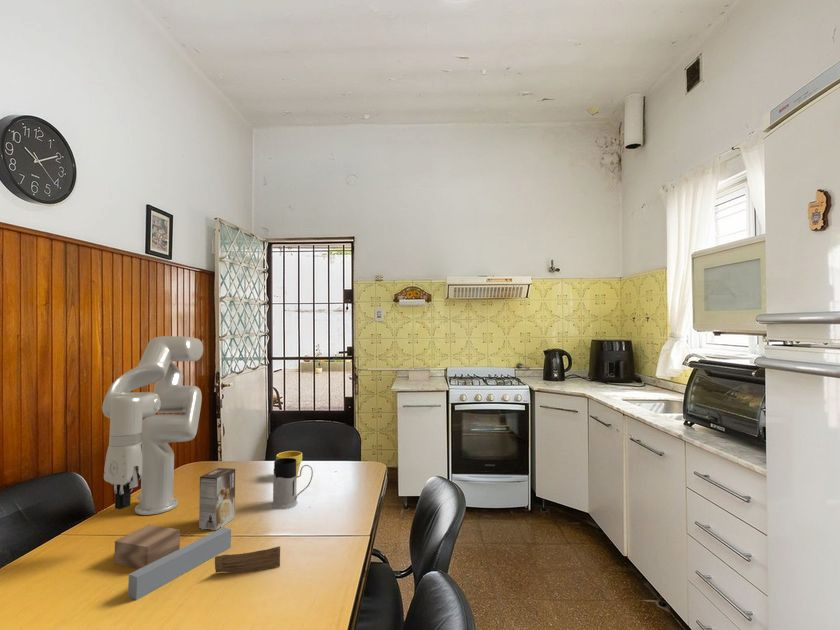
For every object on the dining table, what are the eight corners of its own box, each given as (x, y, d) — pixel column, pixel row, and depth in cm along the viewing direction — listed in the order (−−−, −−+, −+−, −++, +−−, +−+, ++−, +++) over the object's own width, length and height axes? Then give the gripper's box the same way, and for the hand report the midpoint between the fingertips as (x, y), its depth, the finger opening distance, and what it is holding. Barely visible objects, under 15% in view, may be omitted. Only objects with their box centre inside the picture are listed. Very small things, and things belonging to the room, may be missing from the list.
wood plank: (279, 563, 111) (280, 544, 111) (279, 568, 109) (280, 548, 109) (215, 573, 107) (216, 553, 107) (214, 578, 105) (214, 557, 105)
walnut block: (114, 564, 111) (114, 541, 111) (148, 546, 120) (149, 524, 121) (147, 571, 108) (147, 547, 108) (179, 551, 117) (180, 529, 118)
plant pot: (278, 474, 182) (279, 450, 182) (303, 473, 183) (304, 450, 183) (273, 482, 171) (273, 457, 172) (299, 481, 172) (299, 457, 173)
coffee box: (217, 516, 139) (219, 467, 140) (235, 518, 138) (236, 468, 139) (197, 529, 130) (199, 476, 131) (216, 531, 129) (217, 477, 130)
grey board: (128, 596, 97) (128, 574, 97) (223, 545, 121) (223, 527, 121) (136, 600, 96) (137, 577, 96) (230, 547, 119) (231, 529, 120)
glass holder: (276, 499, 154) (277, 457, 155) (315, 499, 154) (316, 457, 154) (267, 509, 146) (268, 464, 146) (308, 509, 145) (309, 465, 146)
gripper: (95, 440, 119) (91, 507, 118) (128, 445, 113) (125, 516, 112) (123, 435, 126) (120, 499, 125) (156, 439, 120) (153, 506, 119)
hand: (122, 507), depth 118 cm, fingers closed
